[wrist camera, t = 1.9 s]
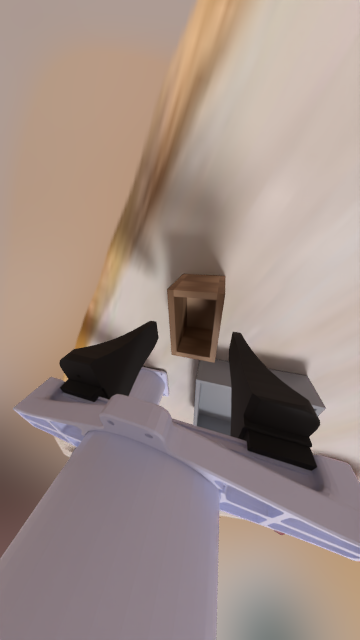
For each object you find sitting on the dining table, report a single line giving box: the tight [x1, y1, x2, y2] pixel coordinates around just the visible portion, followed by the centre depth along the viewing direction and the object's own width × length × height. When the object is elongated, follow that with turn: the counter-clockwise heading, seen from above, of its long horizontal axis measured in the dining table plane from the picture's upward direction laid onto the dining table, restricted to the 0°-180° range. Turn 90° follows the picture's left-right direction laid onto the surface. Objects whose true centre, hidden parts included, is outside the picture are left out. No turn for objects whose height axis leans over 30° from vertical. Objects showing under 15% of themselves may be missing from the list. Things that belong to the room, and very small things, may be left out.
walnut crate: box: [167, 274, 225, 363], centre depth 17 cm, size 5×8×6 cm, turn 2°
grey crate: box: [193, 359, 326, 436], centre depth 25 cm, size 15×17×4 cm
